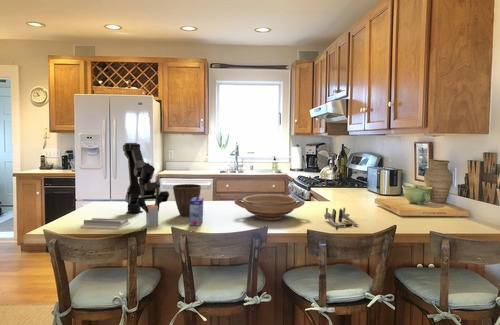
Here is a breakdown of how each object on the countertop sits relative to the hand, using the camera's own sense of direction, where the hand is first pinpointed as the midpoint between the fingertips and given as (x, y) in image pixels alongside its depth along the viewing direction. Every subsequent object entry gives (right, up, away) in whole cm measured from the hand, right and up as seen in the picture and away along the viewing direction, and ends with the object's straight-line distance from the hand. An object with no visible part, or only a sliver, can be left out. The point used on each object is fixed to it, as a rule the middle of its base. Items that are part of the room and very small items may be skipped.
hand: (152, 212), depth 173 cm
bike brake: (+91, -7, +4) cm, 91 cm away
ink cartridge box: (+20, -7, +5) cm, 22 cm away
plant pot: (+12, -5, +24) cm, 28 cm away
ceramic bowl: (+56, -6, +20) cm, 60 cm away
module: (-1, -7, +2) cm, 7 cm away
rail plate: (-23, -7, +1) cm, 24 cm away
